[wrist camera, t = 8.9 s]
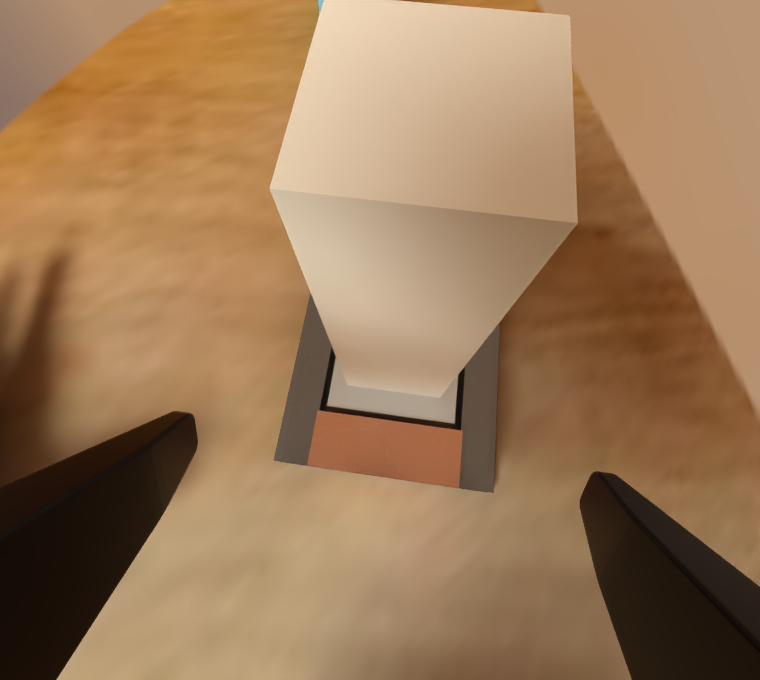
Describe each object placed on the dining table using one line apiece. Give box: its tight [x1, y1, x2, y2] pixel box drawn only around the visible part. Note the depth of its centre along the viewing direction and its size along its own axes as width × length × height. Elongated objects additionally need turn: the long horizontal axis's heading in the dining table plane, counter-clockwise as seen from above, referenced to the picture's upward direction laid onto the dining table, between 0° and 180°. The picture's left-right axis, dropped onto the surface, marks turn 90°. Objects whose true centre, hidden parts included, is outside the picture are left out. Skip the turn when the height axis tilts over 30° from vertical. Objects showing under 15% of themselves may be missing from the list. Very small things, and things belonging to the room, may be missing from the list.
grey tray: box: [274, 293, 500, 493], centre depth 19 cm, size 18×10×3 cm, turn 172°
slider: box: [270, 0, 578, 428], centre depth 12 cm, size 6×5×14 cm
